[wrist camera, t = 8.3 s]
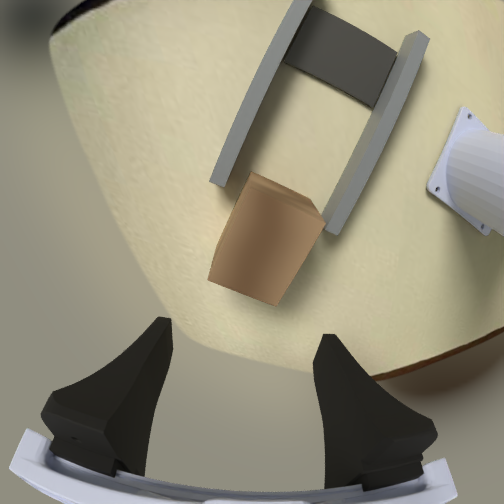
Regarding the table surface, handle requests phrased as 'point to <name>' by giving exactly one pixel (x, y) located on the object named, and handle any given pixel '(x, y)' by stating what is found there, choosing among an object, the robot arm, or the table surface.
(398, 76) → the channel
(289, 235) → the walnut block
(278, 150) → the table surface
